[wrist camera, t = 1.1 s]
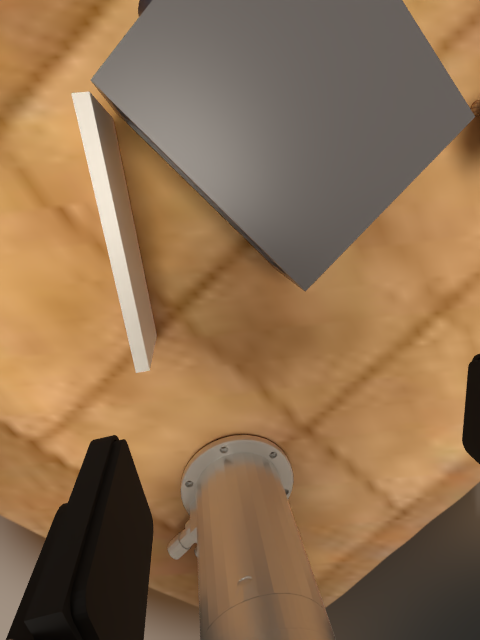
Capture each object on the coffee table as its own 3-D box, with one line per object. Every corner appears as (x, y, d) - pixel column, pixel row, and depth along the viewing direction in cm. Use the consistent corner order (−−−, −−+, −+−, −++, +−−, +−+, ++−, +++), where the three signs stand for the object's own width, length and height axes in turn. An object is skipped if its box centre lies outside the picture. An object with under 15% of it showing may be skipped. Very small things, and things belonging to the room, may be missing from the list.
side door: (146, 337, 33) (136, 372, 26) (99, 119, 27) (71, 93, 20) (157, 335, 33) (149, 370, 26) (113, 118, 27) (89, 91, 20)
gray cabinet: (278, 271, 33) (305, 291, 26) (101, 97, 27) (68, 58, 20) (405, 136, 31) (475, 116, 24) (245, -86, 25) (270, -209, 17)
